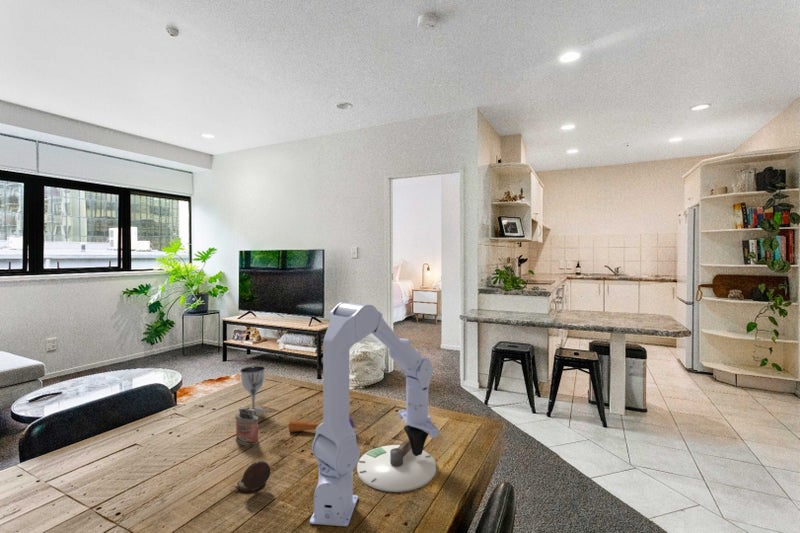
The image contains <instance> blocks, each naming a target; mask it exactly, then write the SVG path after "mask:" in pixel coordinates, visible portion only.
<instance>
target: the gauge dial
mask: <svg viewBox="0 0 800 533" xmlns="http://www.w3.org/2000/svg"><path fill="white" fill-rule="evenodd" d="M400 445H401V444H390V445H383V446H379V447H375V448H373V449H370V450H369V451H367V452H365V453H364V454H363V455H362V456H361V457H359V460H358V463H357V465H356V472H357V475H358V478H359V479H360V480H361V481H362V482H363V483H364V484H365V485H366V486H369V487H371V488H373V489H376V490H379V491H382V492H389V493H392V492H393V493H403V492H409V491H414V490H416V489H419V488H422V487H424V486H426V485H427V484H429V483H430V482H431V481H432V480H433V479H434V477H435V476H436V474H437V473H436V472H437V463H436V460H435V458H434V457H433V456H432V455H431V454H430V453H429V452H427V451H425V450H424V449H423V451H422V454H421V455H418V456H415V455H413V453H412V449H411V450H410V451H409V452H408V453H407V454H406V455H405V456H404V457H403V464H402V465H401V466H392V465H391V464H390V451H391V450H392V449H394V448H398V447H399V446H400Z"/></svg>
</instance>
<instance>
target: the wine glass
mask: <svg viewBox="0 0 800 533" xmlns="http://www.w3.org/2000/svg"><path fill="white" fill-rule="evenodd" d="M265 377H266V367H265V366H263V365H250V366H245V367H243V368H241V369H240V381H241V385H242V387H243V389H244V390H246V391H247V393H249V394H250V396H251V397H250V398H251V407H249V408H250V409H254V410H256V415H254V416H258V415H260V414H263V413H264V412H265V409H264V407H263V408H262V407H255V406H256V405H255V401H256V395H257V393H258V392H259V390H260V389H261V387H262V386H263V384H264V382H265Z"/></svg>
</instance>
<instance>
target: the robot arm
mask: <svg viewBox="0 0 800 533" xmlns="http://www.w3.org/2000/svg"><path fill="white" fill-rule="evenodd" d="M371 334H372V335H374V337H375V338H376V339H378V340H379V341H380V342H381V343H382V344H383V345H384V346H386V347H387V348H388V356H389V357H390V358H391V359H392V360H393V361H394V362H395V363H397V365H398V366H399V367H400V371H401V374H402V375H404V376H406V377H405V381H406V382H405V384H406V385H405V390H406V392H405V395H406V397H405V398H406V402H405V403H406V404H405V405H406V406H405V407H406V409H401V410H398V412H397V414H398V415H397V416H398V419H400V420H402V419H403V421H404V422H405V424H406V425H405V426H404V427H403V430H404V431H405V433H406V436H407V438H409V441H410V445H411V449H412V453H413V455H415V456H418V455H421V454H422V451H423V450H424V446H425V443H426V441H427V438H428V436H429V437H430V438H433V439H434V438H437V437H439V427H437V426H436V425H435V424H434V423H433V422H432V416H431V415H430V414H429V386H430V384H431V379H432V378H431V377H432V376H433V372H434V366H433V365H432V363H431V361H430V359H429V358H426V357H423V356H422V355H421V352H420V351H419V350H417V349H416V348H415V347H414V346H413V345H412V341H411V340H410V339H408V338H405V337H399V336H398V335H397V333H395V332H394V330H393V329H392V328H391V327H390V326H389V324H388V323H387V322H386V320H385V319H384V318H383V313H382V312H381V311H378V308H377V307H376V306H374V305H373V304H362V303H355V302H350V301H346V300H345V301H341V302H339V303H338V304H337V305H335V307H334V308H333V309H332V310H330V312H329V324H328V325H327V328H326V331H325V335H324V337H323V342H322V345H323V346H322V354H323V355H322V357H323V358H322V359H323V360H322V364H323V365H322V370H323V371H322V377H323V378H322V382H323V383H322V388H323V389H322V390H323V392H322V394H323V395H322V396H323V398H322V405H323V406H322V408H323V409H322V422H321V423H319V424H320V425H318V426H317V427H316V429H315V436H314V437H313V438H314V439H313V440H312V444H311V452H312V455H313V456H314V457H315V458H316V459H317V465H318V481H317V484H316V487H315V489H314V494H313V513H312V515H311V517H310V519H309V524H311V525H324V526H337V527H348V526H349V524H350V522H351V518H352V516H353V513H354V510H355V507H356V505H357V502H358V500H359V496H358V495H357V494H354V488H353V487H354V486H353V485H354V483H353V482H354V480H353V479H354V477H353V476H354V475H353V473H354V470H355V468H356V467H357V464H358V461H359V459H360V458H361V457H360V455H361V450H360V447H359V445H358V442H357V434H356V432H355V429H354V428H352V426H351V424H350V422H349V417H350V350H351V348H352V347H353V346H354V345H355V344H357V343H359V342H361V340H363V339H365V338H366V337H368V336H369V335H371Z"/></svg>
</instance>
